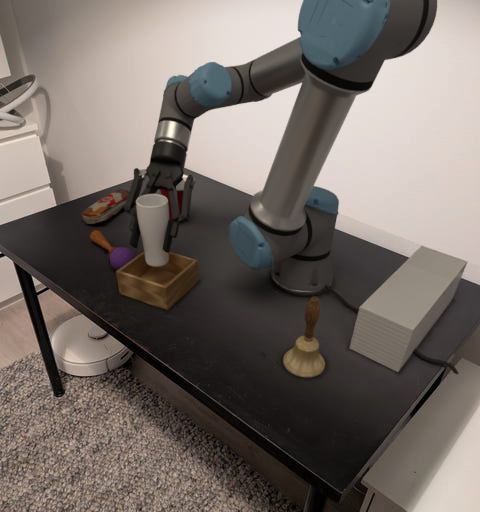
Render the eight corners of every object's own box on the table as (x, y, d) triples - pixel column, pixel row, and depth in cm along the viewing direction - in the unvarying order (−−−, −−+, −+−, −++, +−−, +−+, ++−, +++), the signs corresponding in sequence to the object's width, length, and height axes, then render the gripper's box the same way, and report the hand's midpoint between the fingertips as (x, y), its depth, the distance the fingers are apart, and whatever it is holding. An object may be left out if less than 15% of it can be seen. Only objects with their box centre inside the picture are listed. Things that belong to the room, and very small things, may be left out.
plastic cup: (203, 222, 135) (202, 183, 128) (170, 231, 130) (167, 191, 123) (185, 209, 142) (183, 171, 135) (153, 216, 137) (150, 178, 130)
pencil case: (71, 219, 134) (68, 203, 131) (121, 198, 147) (119, 183, 144) (97, 230, 129) (94, 214, 126) (146, 207, 142) (144, 192, 139)
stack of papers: (398, 372, 89) (413, 330, 82) (349, 348, 94) (359, 306, 87) (452, 300, 109) (467, 261, 102) (409, 283, 114) (421, 245, 107)
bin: (198, 281, 111) (197, 260, 107) (167, 310, 101) (165, 288, 98) (152, 267, 115) (150, 245, 112) (119, 293, 106) (115, 271, 102)
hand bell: (329, 377, 87) (344, 311, 77) (286, 378, 86) (296, 312, 76) (320, 348, 93) (332, 283, 83) (280, 349, 93) (288, 284, 83)
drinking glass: (143, 254, 106) (136, 193, 97) (172, 253, 107) (168, 193, 98) (141, 270, 101) (134, 207, 92) (172, 269, 102) (168, 206, 92)
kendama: (106, 224, 124) (139, 251, 110) (106, 245, 126) (138, 273, 113) (85, 226, 120) (115, 253, 107) (85, 247, 123) (115, 276, 110)
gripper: (216, 161, 102) (197, 259, 100) (134, 151, 105) (113, 246, 103) (210, 144, 95) (189, 250, 93) (122, 134, 98) (99, 237, 96)
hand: (149, 248), depth 98 cm, fingers closed on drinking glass, 7 cm apart
